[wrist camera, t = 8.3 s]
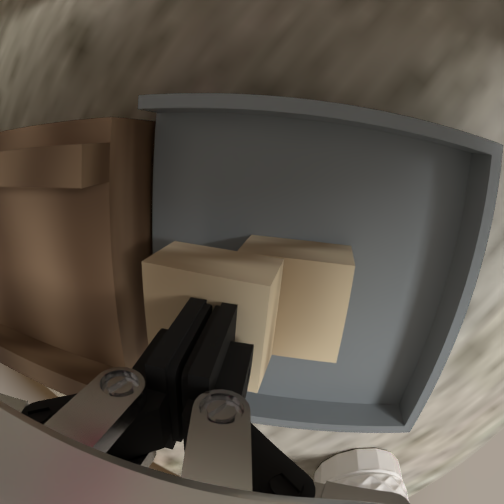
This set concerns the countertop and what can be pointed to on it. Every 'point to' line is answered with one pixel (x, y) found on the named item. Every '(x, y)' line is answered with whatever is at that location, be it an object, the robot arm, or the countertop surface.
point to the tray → (337, 234)
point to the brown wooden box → (74, 247)
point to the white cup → (364, 470)
